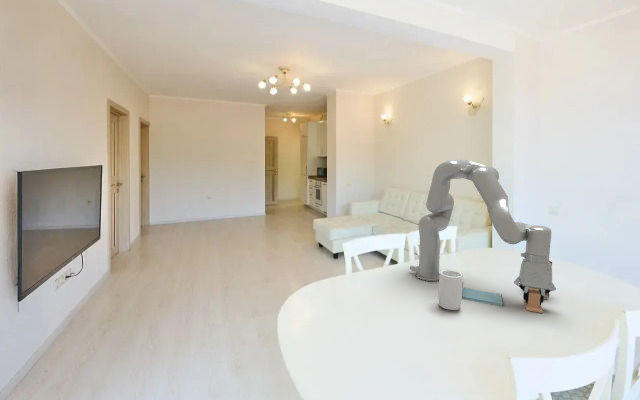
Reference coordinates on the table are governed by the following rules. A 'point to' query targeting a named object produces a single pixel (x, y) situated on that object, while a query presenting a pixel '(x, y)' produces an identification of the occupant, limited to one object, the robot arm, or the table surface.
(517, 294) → the table surface
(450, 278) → the cup
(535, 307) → the tan stepped block
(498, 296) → the gray-edged light blue slab
